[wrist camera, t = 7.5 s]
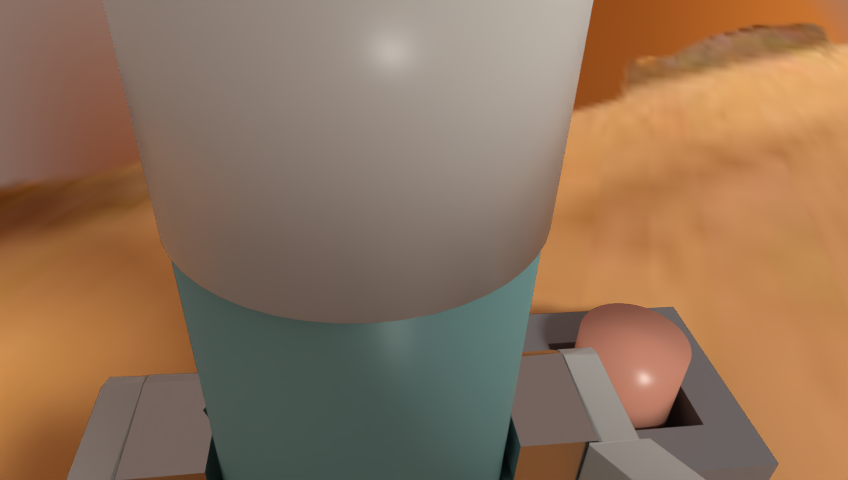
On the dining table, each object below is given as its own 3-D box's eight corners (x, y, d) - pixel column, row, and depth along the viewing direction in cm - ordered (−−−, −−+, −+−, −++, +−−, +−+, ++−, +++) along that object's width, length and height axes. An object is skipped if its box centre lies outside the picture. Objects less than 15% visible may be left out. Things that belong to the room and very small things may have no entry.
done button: (581, 451, 26) (602, 384, 24) (550, 371, 29) (565, 305, 27) (683, 443, 26) (712, 376, 24) (640, 365, 30) (662, 300, 28)
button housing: (537, 530, 25) (549, 484, 23) (488, 361, 32) (495, 316, 30) (751, 509, 26) (778, 463, 24) (657, 350, 33) (673, 306, 31)
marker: (269, 818, 11) (-25, -46, 3) (281, 599, 14) (151, -129, 6) (478, 788, 12) (705, -36, 3) (446, 581, 14) (530, -117, 6)
